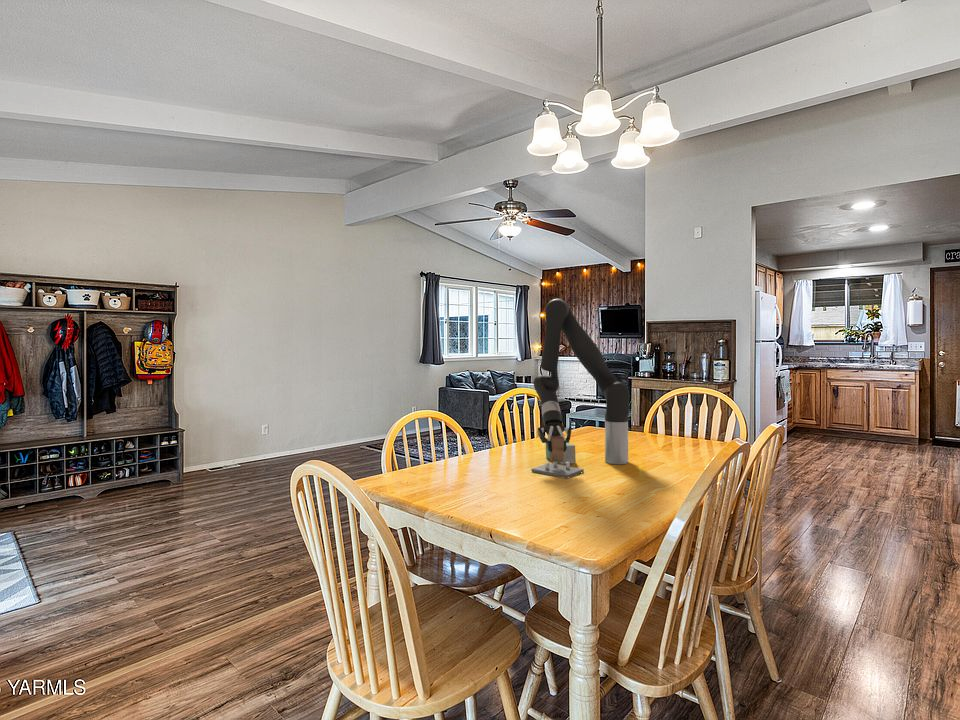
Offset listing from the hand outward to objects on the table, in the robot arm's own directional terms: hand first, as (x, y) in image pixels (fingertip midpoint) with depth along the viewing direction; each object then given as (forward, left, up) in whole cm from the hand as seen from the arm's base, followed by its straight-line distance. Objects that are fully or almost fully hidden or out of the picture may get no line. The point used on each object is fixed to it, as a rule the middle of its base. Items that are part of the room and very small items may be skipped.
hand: (557, 450), depth 206 cm
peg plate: (-1, -1, -9) cm, 9 cm away
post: (-1, -1, -4) cm, 4 cm away
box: (-19, -11, -9) cm, 24 cm away
